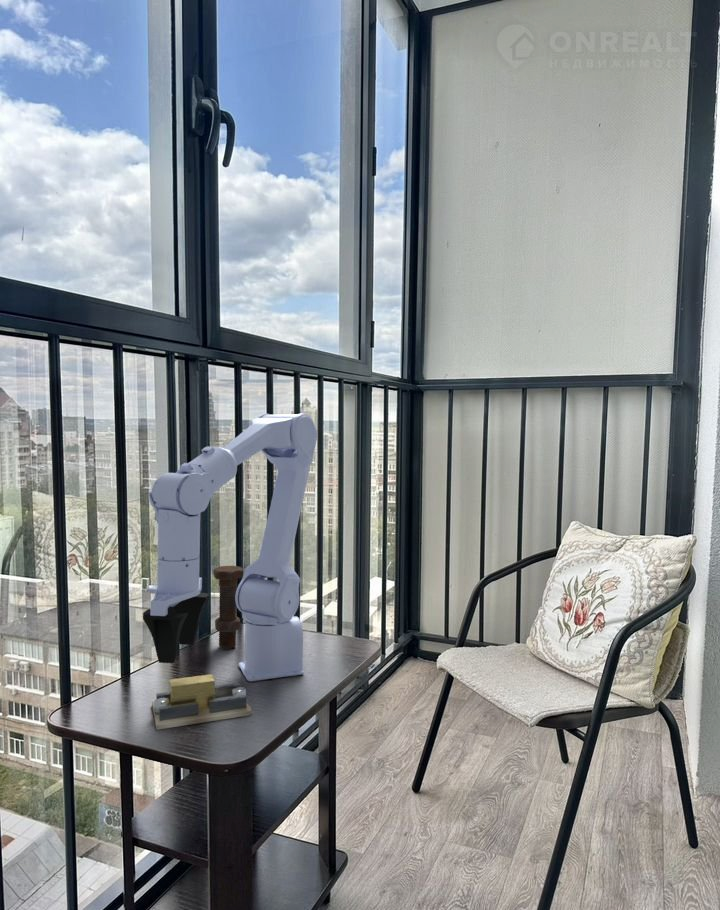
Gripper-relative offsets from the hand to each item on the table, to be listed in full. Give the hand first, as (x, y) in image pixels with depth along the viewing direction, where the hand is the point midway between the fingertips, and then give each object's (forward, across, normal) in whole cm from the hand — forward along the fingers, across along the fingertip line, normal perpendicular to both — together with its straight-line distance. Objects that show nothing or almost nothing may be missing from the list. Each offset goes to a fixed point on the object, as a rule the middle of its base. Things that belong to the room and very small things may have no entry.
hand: (177, 652), depth 88 cm
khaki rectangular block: (+8, -1, +2) cm, 9 cm away
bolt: (+9, -28, -1) cm, 30 cm away
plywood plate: (+9, -2, +3) cm, 10 cm away
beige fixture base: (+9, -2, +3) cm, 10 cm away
